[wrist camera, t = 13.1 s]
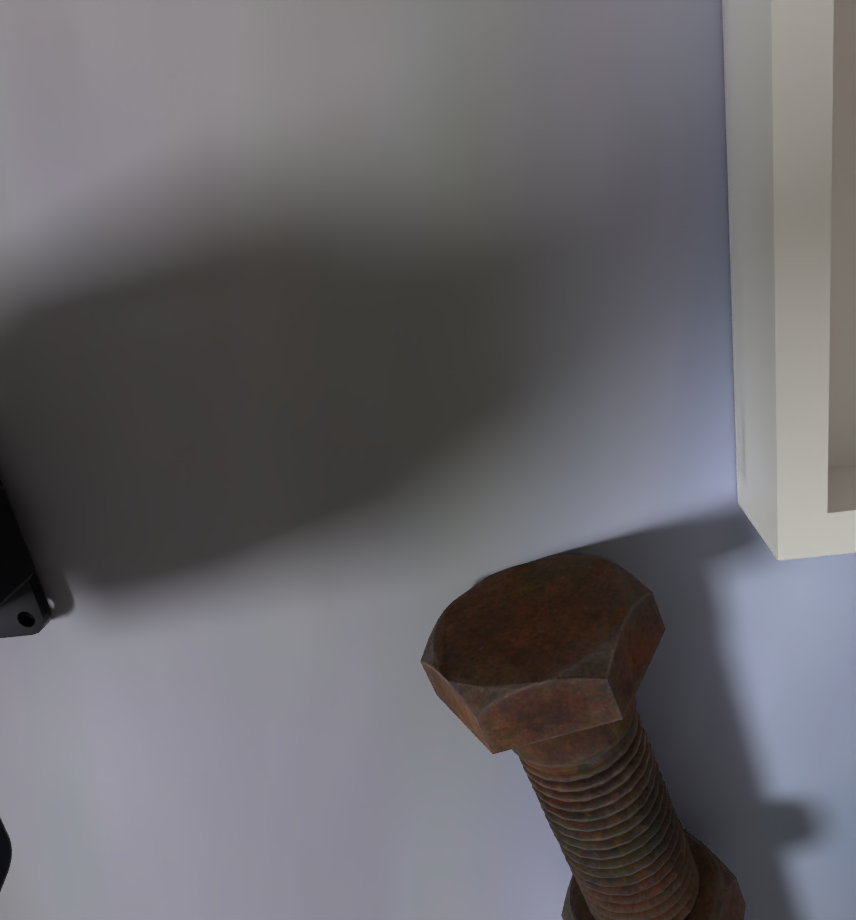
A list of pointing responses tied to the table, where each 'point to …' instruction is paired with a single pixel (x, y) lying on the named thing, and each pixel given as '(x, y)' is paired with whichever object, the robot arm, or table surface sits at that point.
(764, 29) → the tray
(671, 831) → the bolt
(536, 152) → the table surface
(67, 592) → the table surface
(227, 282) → the table surface
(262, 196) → the table surface
